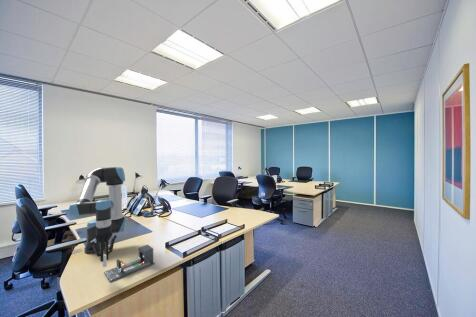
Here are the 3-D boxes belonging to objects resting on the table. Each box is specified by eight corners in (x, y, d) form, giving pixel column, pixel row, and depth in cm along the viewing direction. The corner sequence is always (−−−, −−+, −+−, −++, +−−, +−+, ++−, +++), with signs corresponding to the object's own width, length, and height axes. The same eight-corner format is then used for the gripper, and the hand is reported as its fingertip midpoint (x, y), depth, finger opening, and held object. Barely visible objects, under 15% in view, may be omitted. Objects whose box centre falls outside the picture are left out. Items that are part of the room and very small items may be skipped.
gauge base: (103, 273, 123) (103, 257, 123) (146, 257, 142) (146, 243, 142) (109, 282, 114) (109, 265, 114) (154, 264, 133) (154, 249, 133)
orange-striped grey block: (115, 268, 125) (115, 258, 125) (137, 260, 135) (137, 251, 135) (120, 274, 119) (119, 263, 119) (142, 265, 129) (142, 255, 129)
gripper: (91, 230, 110) (92, 273, 110) (118, 224, 119) (118, 263, 119) (88, 227, 115) (89, 268, 115) (114, 222, 124) (115, 259, 124)
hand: (104, 266), depth 117 cm, fingers closed
